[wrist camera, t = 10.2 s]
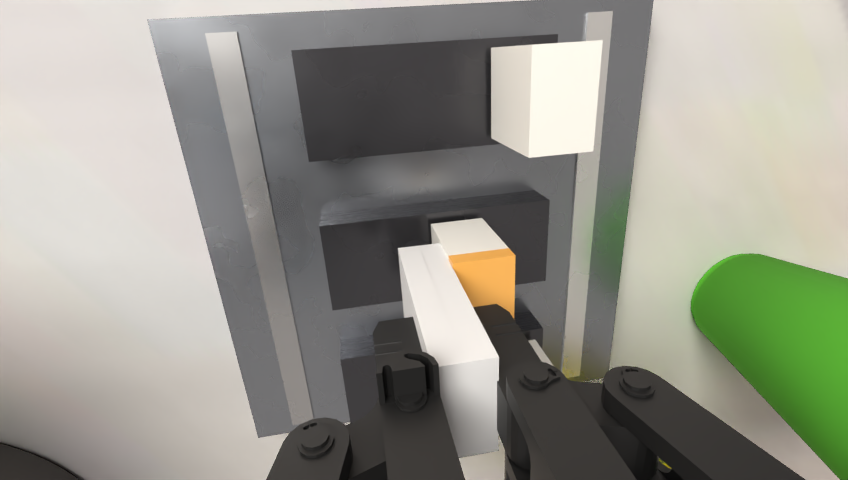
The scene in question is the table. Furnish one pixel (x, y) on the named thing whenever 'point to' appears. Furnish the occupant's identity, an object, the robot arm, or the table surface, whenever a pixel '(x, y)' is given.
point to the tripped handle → (479, 261)
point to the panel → (391, 180)
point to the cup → (784, 342)
